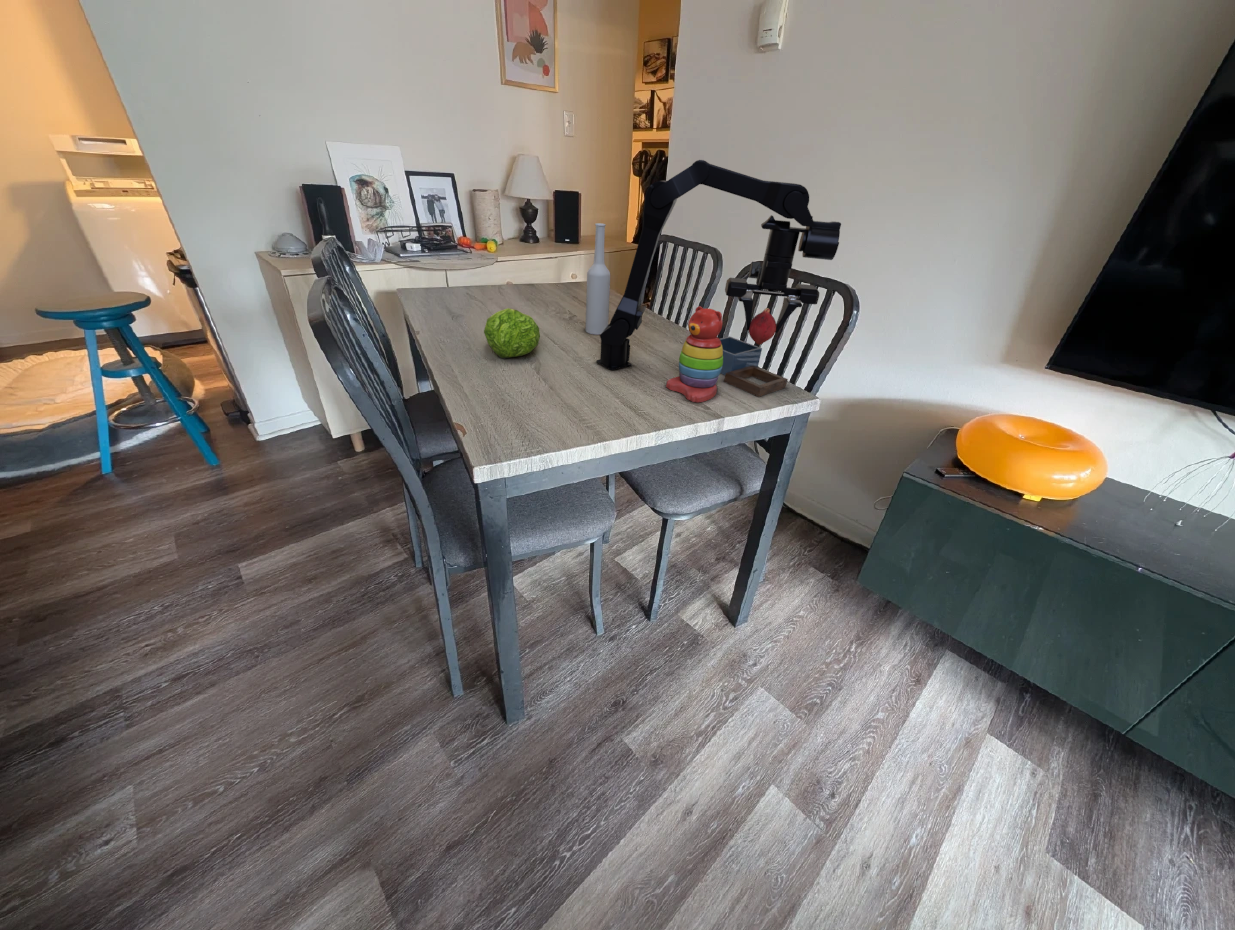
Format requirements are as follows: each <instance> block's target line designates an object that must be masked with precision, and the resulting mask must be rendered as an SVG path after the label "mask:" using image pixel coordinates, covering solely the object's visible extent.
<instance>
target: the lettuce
mask: <svg viewBox="0 0 1235 930" xmlns="http://www.w3.org/2000/svg"><path fill="white" fill-rule="evenodd" d="M483 334H484V336H485V339H486V342H487V344H488V345H489V347H490V348H491V350H492V351H493V352H494V354H496V355H497V356H498V357H499V358H501V359H504V358H505V359H506V358H507V359H508V358H516V357H517V358H518V357H522V356H526V355H527V354H530V353H531V352H532V351H533V350H534V349H535V348H536V347H537V346H538V345H539V342H540V338H541V332H540V327H539V325H538V324H537V323H536V321H535V319H533V317H532V316H530V315H529V314H525V313H523V312H521V311H519V310H518V309H514V308H510V307H508V308H504V309H502V310H498V311H497V312H495V313H494V314H492V315H491V316H489V317H487V318H486V322H485V325H484V329H483Z"/></svg>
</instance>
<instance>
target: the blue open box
mask: <svg viewBox="0 0 1235 930" xmlns="http://www.w3.org/2000/svg"><path fill="white" fill-rule="evenodd" d="M719 339H720V341H721V344H722V347H723V365H722V370H721V373H720V375H723V376H725V375H726V373H727V372H731V371H735V370H738V369H742V368H745V367H749V366H752V365H754V366H756V367H759V364H760V359H761V355H762V351H763V347H760V346H757V345H755V344H751V343H749V342H746V341H744V340H741V339H738V338H735V337H732V336H726V337H721V338H719Z"/></svg>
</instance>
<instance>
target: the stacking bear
mask: <svg viewBox="0 0 1235 930" xmlns="http://www.w3.org/2000/svg"><path fill="white" fill-rule="evenodd" d="M694 311H695V312H694V313H692V315H691V317H690V318H689V320H688V323H687V327H688V331H689V333H690V334H689V335H688V336H687V337H686V338H685V340H684V342H683V345H682V348H681V351H680V353H679V357H678V371H679V372H678V373H679V375H678V376H675V377H673V378H669V379H667V381H666V384H665V387H666V388H667V389H668V390H671V392H672V391H673V392H676V393H680V394H682V395H684V396H685V398H686V400H688V401H690V402H692V403H702V402H706V401H709V400H711V399H713V398H714V397H715V396H716V395H717V392H718V386H717V382H718V380H719V378H720V375H721V370H722V365H723V347H722V344H721V341H720V339H721V338H719V337H718V336H719V335H720V334H721V331H722V329H723V314H722V312H721V311H718V310H715V309H713V308H704V307H703V306H701V305H700V306H697V307H696V308H695V310H694Z"/></svg>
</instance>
